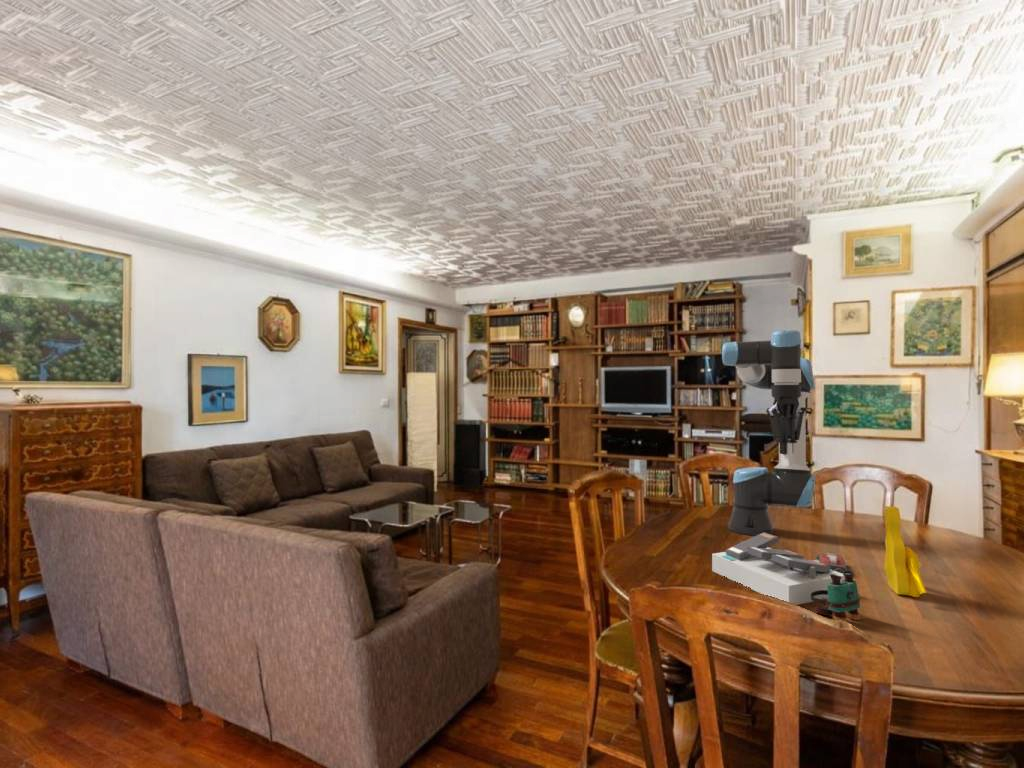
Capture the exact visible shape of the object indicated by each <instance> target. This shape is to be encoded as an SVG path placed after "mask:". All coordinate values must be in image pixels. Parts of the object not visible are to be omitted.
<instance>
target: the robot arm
mask: <svg viewBox="0 0 1024 768" xmlns="http://www.w3.org/2000/svg"><path fill="white" fill-rule="evenodd" d="M801 343H802V338H801V333H800V331H799V330H797V329H795V330H794V329H790V330H787V329H786V330H785V329H784V330H776V331H773V332H772V333H771V340H758V341H757V340H756V341H753V340H752V341H751V340H750V341H730V342H725V343H723V345H722V348H721V359H722V364H723V365H724V366H727V367H728V366H730V367H735V368H736V373H737V376H738V378H739V379H740V381H742V383H744V384H746V385H747V386H749V387H750V386H751V387H753V388H756V389H761V390H771V397H772V398H773V399H774V400H773V402H772V406H771V407H770V408H767V409H766V413H767V415H768V418H769V423H770V427H771V432H772V438H773V441H775V442H776V443H778V464H777V465H776V466H774V467H773V469H774V471H773V472H772V471H771V472H770V471H769V470H768V468H767V467H761V466H753V467H743V468H738V469H736V470H735V471H734V473H733V480H732V483H733V509H732V511H731V515H730V519H729V520H728V529H729V530H730V531H732V532H734V533H737V534H741V535H748V536H757V535H759V534H761V533H763V532H765V533H768V534H771V535H773V534H774V525H773V523H772V521H771V517H770V514H769V511H768V510H769V505H772V506H773V505H775V506H786V507H794V508H810V507H811V505H812V503H813V498H814V491H815V482H816V476H815V475H814V474H812V473H811V472H812V470H811V468H810V467H808V465H807V460H806V459H807V458H806V457H807V456H806V455H807V453H806V451H807V450H806V449H807V448H806V447H807V445H806V444H807V443H806V440H807V439H806V437H807V436H806V435H807V434H806V429H807V428H806V411H807V409H806V399H807V398H808V397H809V396H810V395H811V391H812V390H815V381H814V375H813V367H812V362H811V361H810V359H809V358H804V357H802V347H801V346H802V344H801Z"/></svg>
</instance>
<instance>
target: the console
mask: <svg viewBox="0 0 1024 768" xmlns="http://www.w3.org/2000/svg"><path fill="white" fill-rule="evenodd" d="M744 541H745V540H743V541H740V543H741V542H744ZM766 549H772V548H771V547H767V548H766ZM711 558H712V559H711V571H712V572H714V573H716V574H718V575H720V576H722V577H724V576H725V577H724V578H726V577H727V579H729V580H731V581H733V582H735V581H736V583H737V582H738V584H739V583H741V584H743V585H742V586H744V587H746V586H747V587H746V588H748V587H750V588H751V590H752V591H755V592H757V593H758V594H761V595H763V594H764V596H765V595H768V596H772V597H775V598H778V599H780V600H784V601H787V602H790V603H793V604H796V605H795V606H799V605H803V604H808V603H813V602H814V601H812V600H811V593H812V592H815V591H819V590H828V584H829V583H832V579H831V576H830V574H833V575H837V576H841V580H840V583H841V581H843V580H845V576H844V575H843V574H842V573H839V572H836V571H834V570H831V569H830V573H826V572H820V571H816V567H814V566H810V567H809V570H806V569H800V568H793V567H787V566H785V565H782V564H779V563H777V562H774V561H772V560H771V559H762V558H759V557H756V556H754V555H750V556H748V557H746V558H744V559H742V560H737V559H735V558H732V557H730V556H727V555H726V551H721V552H715V553H714V552H713V553H712V554H711ZM741 584H740V585H741ZM750 588H749V589H750ZM822 597H824V598H826V599H827V600H828V595H816V596H814V598H818V599H822ZM824 598H823V599H824ZM826 599H824V600H826ZM814 603H815V602H814Z"/></svg>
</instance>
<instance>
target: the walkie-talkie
mask: <svg viewBox="0 0 1024 768" xmlns="http://www.w3.org/2000/svg"><path fill="white" fill-rule="evenodd" d="M813 561H816V562H819V563H822V564H825V565H827V566H830V567H831V568H830V569H831V570H834V571H836V572H839V573H842V574H843V572H844V571H847V570H848V568H847V564H846V562H845V560H844V557H842V556H840V555H838V554H834V553H829V552H828V553H826V552H825V553H824V552H821V553H819V554H817V556H816V559H814V560H813Z"/></svg>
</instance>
